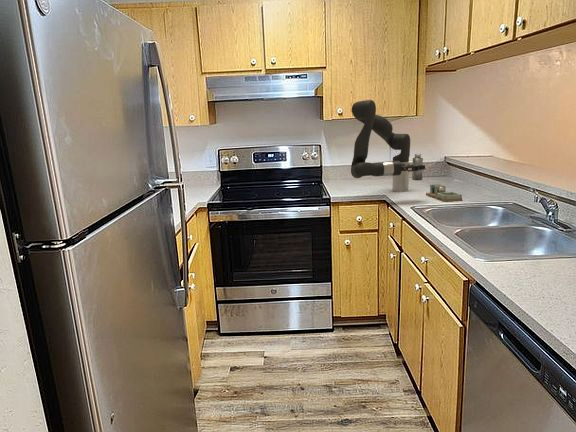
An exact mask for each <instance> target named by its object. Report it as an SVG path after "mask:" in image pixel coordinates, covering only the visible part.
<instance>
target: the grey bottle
mask: <svg viewBox="0 0 576 432" xmlns="http://www.w3.org/2000/svg"><path fill="white" fill-rule="evenodd" d="M412 164H413V165H424V158H423V157H422V154H421V153H415V154H414V157H413V158H412ZM415 169H416V167H415ZM411 172H412V177H411V179H412V181H423V173H424V171H423V170H418V171H411Z"/></svg>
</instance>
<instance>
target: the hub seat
mask: <svg viewBox="0 0 576 432" xmlns="http://www.w3.org/2000/svg"><path fill="white" fill-rule="evenodd" d="M437 197H439V198H442V199H457V198H462V199H463V194H461V193H459V192H458V193H457V192H455V191H447V192H446V191H445V193H437Z"/></svg>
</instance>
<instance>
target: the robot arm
mask: <svg viewBox="0 0 576 432" xmlns="http://www.w3.org/2000/svg"><path fill="white" fill-rule="evenodd" d="M351 113H352V115H353V117H354V119H356V120H357V121H358V122H360V123H362V124H363V126H362V129H361V130H360V131H359V134H358V135H357V137H356V139H355V141H354V145H353V146H354V147H353V158H352V161H351V166H350V174H351V176H352V177H353V178H354V179H360V178H363V177H367V176H371V177H392V191H393V192H394V193H395V192H396V193H397V192H399V193H400V192H401V193H403V192H409V189H410V187H409V185H410V183H409V182H410V179H409V178H410V177H409V175H410V174H409V173H411V172H412V171H418V170H426V165H424V164H423V165H413V163H410V162H409V161H410V155H411V137H410V135H409V133H394V132H393V130H394V129H393V124H392V122H390V121H389V120H388V119H387V118H386V117H384V116H382V115H380V114H379V115H378V114H377V105H376V103H375V101H374V100H372V99H366V100H365V99H364V100H360V101H359V100H358V101H356V102H353V104H352V106H351ZM372 131H373V132H374V133H375V134H376V135H377V136H379V137H380V138H381V139H382V140H383V141H384V142H385V143H386V144H387V145H388V146H389V147H390V148H391V149H392V150H395V151H396V150H397V151H400V153H398V154H397V155H394V156H393V157H392V160H390V161H389V160H388V161H380V162H366V160H367V158H368V155H369V144H370V138H371V133H372ZM415 167H416V169H415Z"/></svg>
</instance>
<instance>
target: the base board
mask: <svg viewBox="0 0 576 432" xmlns="http://www.w3.org/2000/svg"><path fill="white" fill-rule="evenodd" d="M425 195H426V196H428V197H430V198H432V199H436V200H438V201H440V202H443V203H444V202H446V203H447V202H448V203H449V202H458V201H459V202H460V201H463V197H462V198H457V199H442V198H439V197H437V195H436V194H435V193H430V192H426V193H425Z"/></svg>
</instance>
